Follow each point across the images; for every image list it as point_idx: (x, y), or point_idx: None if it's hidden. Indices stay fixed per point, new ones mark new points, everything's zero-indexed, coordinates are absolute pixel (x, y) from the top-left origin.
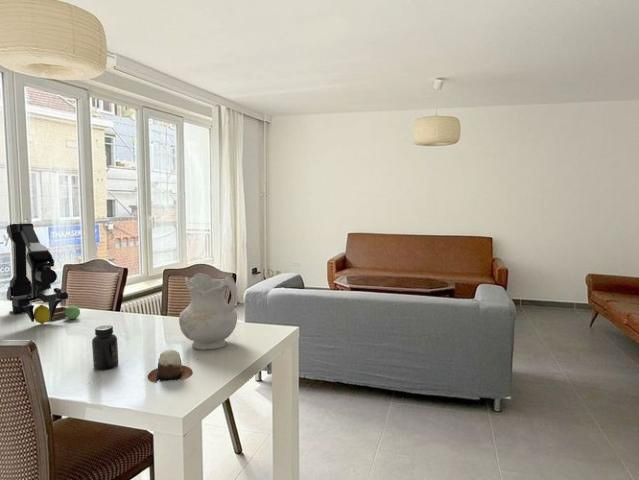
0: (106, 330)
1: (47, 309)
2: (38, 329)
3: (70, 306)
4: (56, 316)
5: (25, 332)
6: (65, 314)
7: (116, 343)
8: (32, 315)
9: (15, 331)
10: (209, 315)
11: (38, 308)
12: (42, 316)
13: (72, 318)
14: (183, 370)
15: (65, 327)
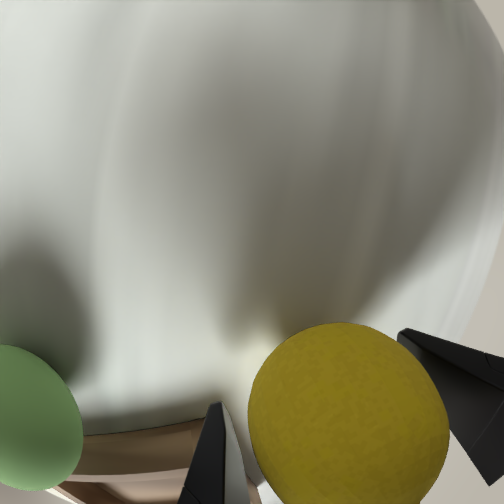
0: None
1: (327, 470)
2: (384, 158)
3: (7, 477)
4: (164, 449)
5: (459, 142)
6: (70, 415)
7: None
8: (459, 356)
9: (477, 229)
10: None
11: (445, 452)
12: (374, 346)
13: (21, 348)
14: None
15: (124, 32)
